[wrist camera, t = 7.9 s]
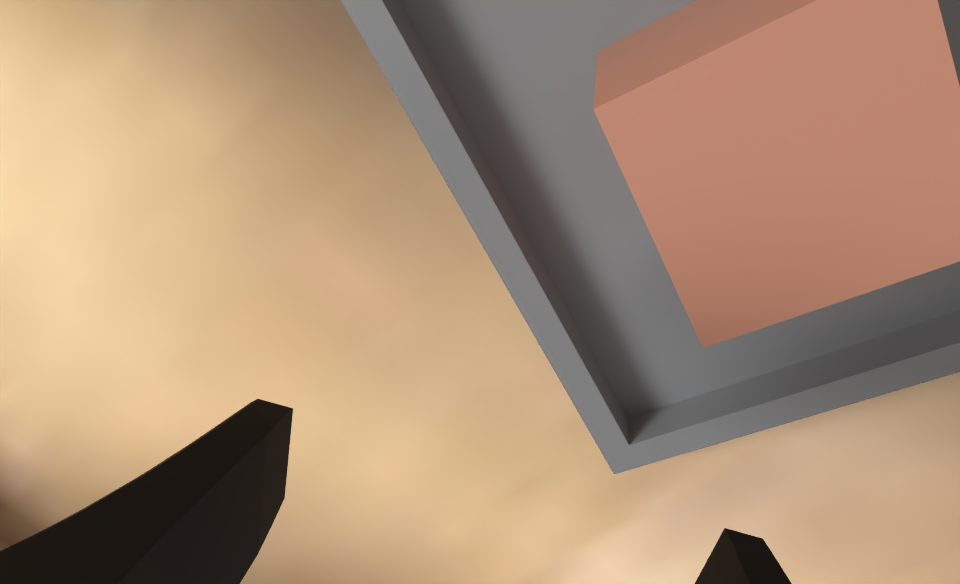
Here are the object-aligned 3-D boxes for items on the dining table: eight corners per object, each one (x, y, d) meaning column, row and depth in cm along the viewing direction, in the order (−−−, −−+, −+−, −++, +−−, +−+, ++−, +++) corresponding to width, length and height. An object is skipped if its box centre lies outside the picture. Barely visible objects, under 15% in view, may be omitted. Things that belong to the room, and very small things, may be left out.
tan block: (865, 141, 15) (1001, 247, 10) (671, 221, 17) (702, 348, 12) (802, -55, 14) (923, -53, 9) (597, 51, 15) (593, 109, 10)
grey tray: (1118, 272, 16) (1173, 308, 15) (613, 433, 21) (614, 474, 19) (948, -540, 11) (1005, -620, 9) (320, -88, 16) (288, -91, 14)
